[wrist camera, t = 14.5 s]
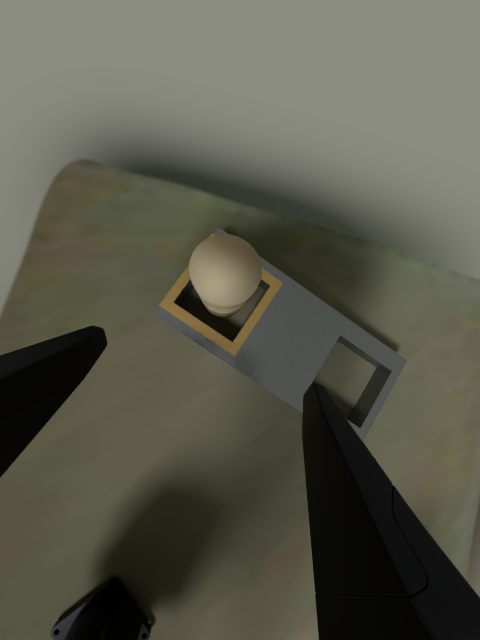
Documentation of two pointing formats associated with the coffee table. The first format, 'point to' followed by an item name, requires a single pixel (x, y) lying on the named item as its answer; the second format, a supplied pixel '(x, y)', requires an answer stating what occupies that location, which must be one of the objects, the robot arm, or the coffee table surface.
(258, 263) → the peg
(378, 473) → the robot arm
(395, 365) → the board with square holes
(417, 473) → the coffee table surface
